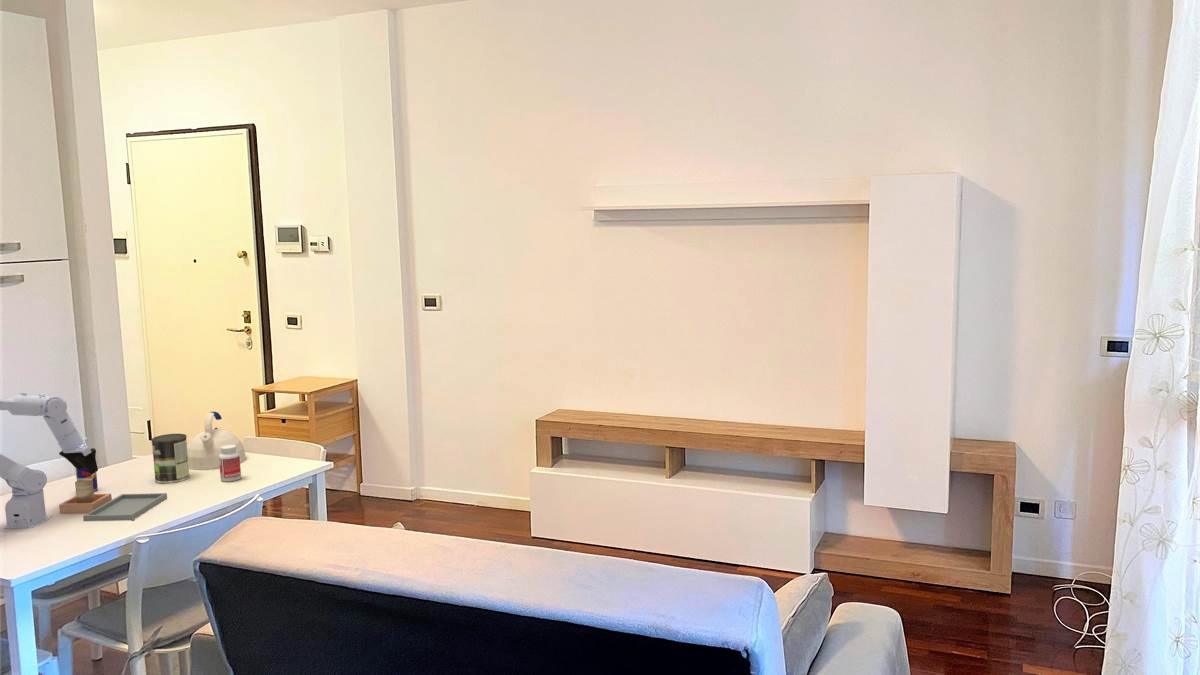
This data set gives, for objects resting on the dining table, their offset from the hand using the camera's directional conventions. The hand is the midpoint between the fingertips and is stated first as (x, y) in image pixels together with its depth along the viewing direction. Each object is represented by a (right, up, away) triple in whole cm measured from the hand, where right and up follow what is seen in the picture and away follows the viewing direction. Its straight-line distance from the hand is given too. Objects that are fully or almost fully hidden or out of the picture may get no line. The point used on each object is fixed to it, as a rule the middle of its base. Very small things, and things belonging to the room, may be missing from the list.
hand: (87, 470), depth 249 cm
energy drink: (-8, -9, +14) cm, 19 cm away
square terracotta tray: (+1, -11, -2) cm, 11 cm away
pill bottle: (+32, -7, +25) cm, 41 cm away
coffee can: (+12, -7, +27) cm, 30 cm away
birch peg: (+1, -11, -2) cm, 11 cm away
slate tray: (+14, -11, -4) cm, 18 cm away
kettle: (+16, -5, +47) cm, 50 cm away
